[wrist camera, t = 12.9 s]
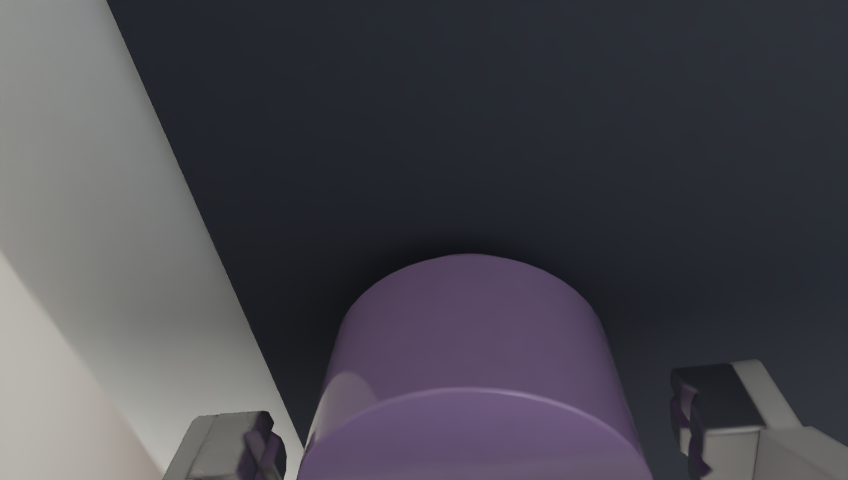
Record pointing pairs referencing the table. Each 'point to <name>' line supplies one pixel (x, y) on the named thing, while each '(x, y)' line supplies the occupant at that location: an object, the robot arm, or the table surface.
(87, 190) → the table surface
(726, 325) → the mat
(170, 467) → the robot arm
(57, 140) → the table surface
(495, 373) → the lavender round puck
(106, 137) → the table surface
